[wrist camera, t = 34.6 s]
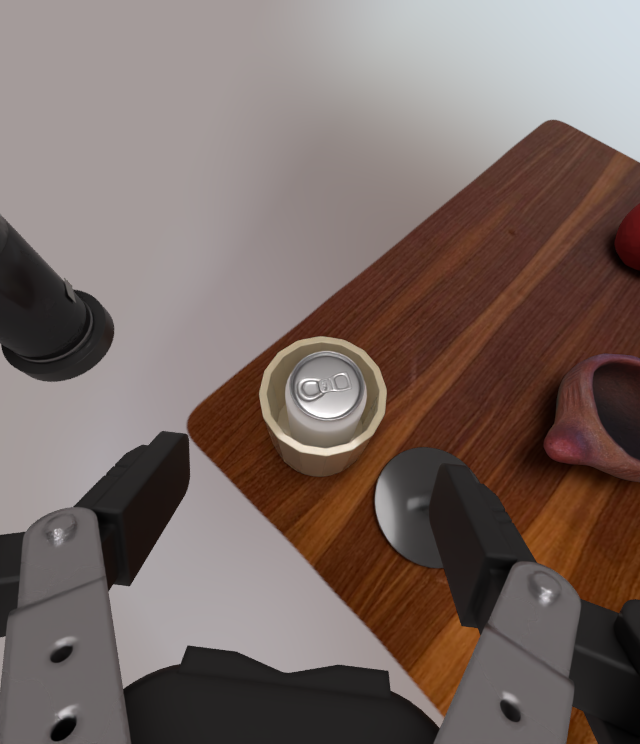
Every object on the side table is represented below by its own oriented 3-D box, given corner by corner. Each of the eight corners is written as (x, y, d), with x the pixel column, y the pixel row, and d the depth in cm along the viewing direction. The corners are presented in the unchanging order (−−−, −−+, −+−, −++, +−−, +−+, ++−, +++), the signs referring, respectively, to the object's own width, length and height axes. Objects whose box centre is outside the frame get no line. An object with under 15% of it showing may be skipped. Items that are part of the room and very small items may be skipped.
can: (284, 406, 39) (274, 355, 28) (342, 392, 40) (355, 337, 29) (298, 466, 36) (294, 436, 25) (360, 450, 37) (382, 413, 26)
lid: (352, 524, 35) (360, 522, 30) (402, 430, 39) (416, 413, 34) (457, 592, 33) (485, 603, 28) (498, 485, 37) (530, 477, 32)
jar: (252, 443, 38) (234, 411, 28) (304, 368, 41) (303, 317, 32) (336, 496, 36) (347, 481, 26) (383, 413, 40) (407, 373, 30)
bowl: (561, 353, 43) (613, 316, 36) (671, 419, 40) (751, 393, 33) (499, 460, 38) (545, 442, 31) (621, 546, 35) (704, 548, 28)
